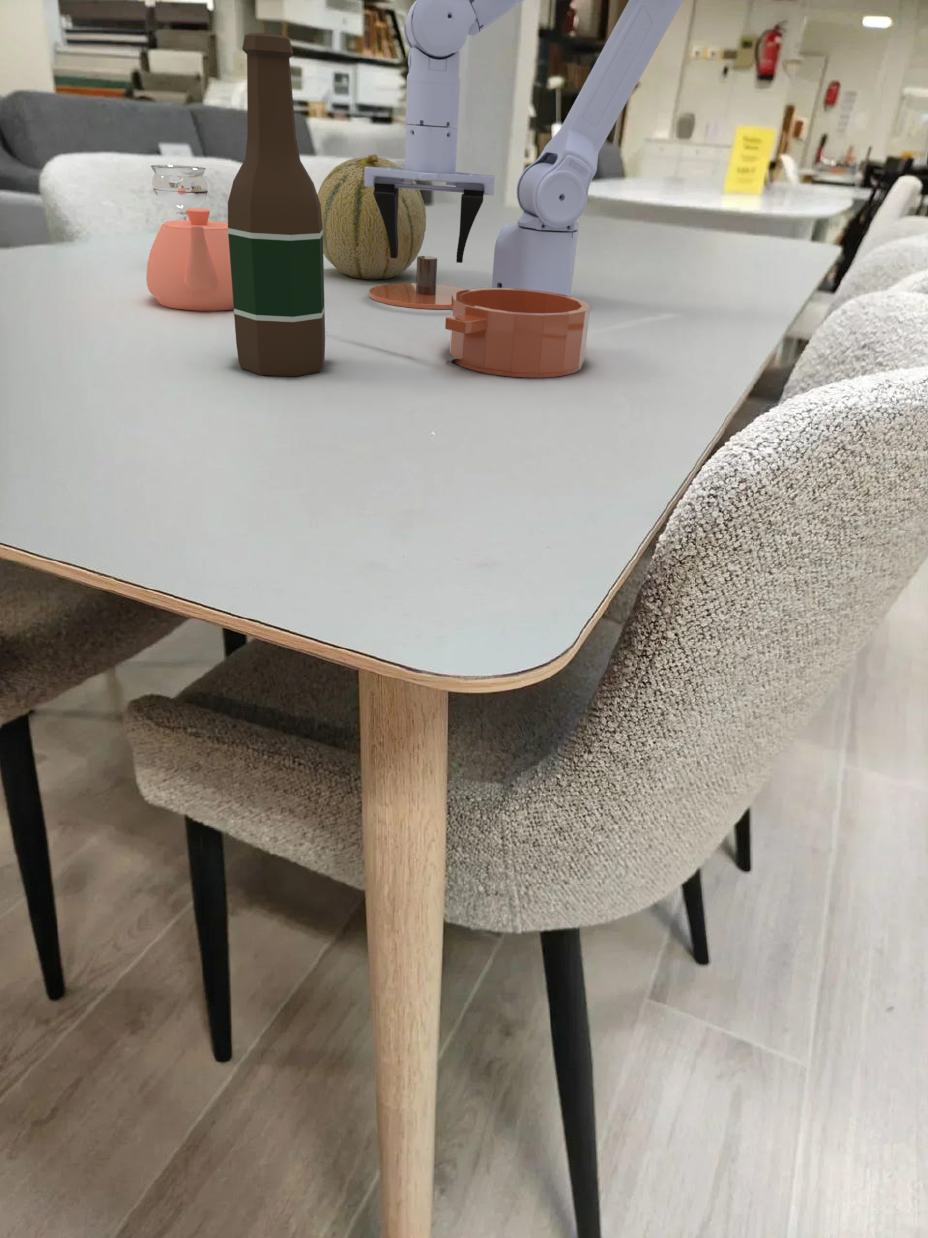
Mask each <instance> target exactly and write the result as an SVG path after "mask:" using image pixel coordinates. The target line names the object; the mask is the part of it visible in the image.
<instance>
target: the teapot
mask: <svg viewBox="0 0 928 1238" xmlns="http://www.w3.org/2000/svg"><path fill="white" fill-rule="evenodd" d="M210 212H211V210H210V209H208V208H204V207H203V208H202V207H199V208H188V209H186V213H187V215H188V216H187V218H188V219H187V220H180V219H178V220H167V221H164V222H163V223H162V224H161V226H160V227H159V230H158V232H157V233H156V236H155V238H154V240H153V243H152V245H151V249H150V251H149V255H148V259H147V265H146V286H147V289H148V291H149V293H150V294H151V296H153V295H154V296H153V298H154V299H155V300H156V301H157V302H158V304H159V305H160V306H163V307H166V308H170V309H175V310H185V311H198V312H199V311H201V312H202V311H204V312H205V311H207V312H209V311H210V312H212V311H232V310H233V311H234V305H233V292H232V278H231V264H230V250H229V237H228V222H225V221H217V220H216V221H214V220H209V219H210V214H211V213H210ZM155 296H156V297H155ZM158 297H159V298H158Z"/></svg>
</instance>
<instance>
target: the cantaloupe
mask: <svg viewBox="0 0 928 1238" xmlns="http://www.w3.org/2000/svg"><path fill="white" fill-rule="evenodd" d="M365 167H383V168H402V167H401V166H400V165H398V164H396V163H395V162H393V161H391V160H389V159H386V158H384V157H379V156H378V155H377V154H375V153H374V154H370V155H368V156H359V157H355V158H351V159H347V160H345V161H343V162H341V163H340V164H338V165H336V166H335V167H333V169H331V170H330V171H329V173H328V174H327V175H326V176H325V177H324V179H323V180H322V182H321V185H320V187H319V189H318V191H317V195H318V198H319V201H320V204H321V214H322V226H323V256H324V257H325V258H326V260H327V261H328V262H329V263H330V264H331V265H332V266H333V267H334V268H335V269H336V270H337V271H339V272H340V273H342V274H344V275H346V276H349V277H351V278H354V279H361V280H362V279H363V280H376V281H377V280H387V279H391V278H393V277H396V276H398V275H399V274H401V273H403V272H404V271H406V270H407V269H408V268H409V267H411V265H412V263H414V261H415V260H417V257H418V255H419V254H420V251H421V249H422V246H423V244H424V240H425V237H426V236H425V235H426V234H425V233H426V231H427V213H426V211H427V210H426V206H425V202H424V198H423V196H422V193H421V190H418V189H403V188H399V196H398V218H397V231H398V257H397V258H390V247H389V241H388V236H387V232H386V228H385V225H384V222H383V218H382V216H381V213H380V210H379V208H378V205H377V203H376V200H375V197H374V194H373V192H374V187H366V186H365ZM403 183H405V182H403ZM406 184H417V183H416V181H415V180H413V183H406Z"/></svg>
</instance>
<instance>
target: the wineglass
mask: <svg viewBox="0 0 928 1238" xmlns="http://www.w3.org/2000/svg"><path fill="white" fill-rule="evenodd" d="M150 168H151V170H152V171H153V177H152V183H151V185H152V189H153V192H154V194H155V197H156V198H157V199H158V201H159V202H160V203H161V204H162V205H163V206H164V207H166V208H168V209H170V210H171V211H173V212H175V214H176V215H177V217H179V220H188V219H187V217H188V215H187V213H186V209H188V208H201V206H202V205H203V204H204V202H205V200H206V199H207V196H208V192H209V190H208V188H209V187H208V182H207V180H206V179H205V176H204V174H205V172H206V167H201V166H193V165H177V164H176V165H175V164H153V165H150Z"/></svg>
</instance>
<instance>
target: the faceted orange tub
mask: <svg viewBox="0 0 928 1238" xmlns="http://www.w3.org/2000/svg"><path fill="white" fill-rule="evenodd" d="M590 316H591V306H590V304H589V303H588V302H587V301H586V300H582V299H579V298H577V297H574V296H572V295H571V296H567V295H562V294H558V293H553V292H546V291H538V290H529V289H515V288H492V287H479V288H471V289H468V290H463V291H459V292H457V293H455V294H453V295H452V303H451V309H450V316H446V317H445V321H444V324H445V325H444V329H445V330H447V331H449V345H448V346H449V347H448V349H449V353H450V355H451V356H453V357H454V358H453V359H451V361H452V362H453V363H454V364H455V365H458V366H460V367H463V368H465V369H467V370H471V371H474V372H479V373H482V374H488V375H494V376H502V377H511V378H524V379H525V378H528V379H539V378H543V379H544V378H557V377H562V376H563V377H564V376H568V375H572V374H574V373H577V372H579V371H580V370H581V369H582V367H583V363H584V362H585V356H586V355H585V354H586V347H587V341H588V339H587V338H588V331H589V324H590Z"/></svg>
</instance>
